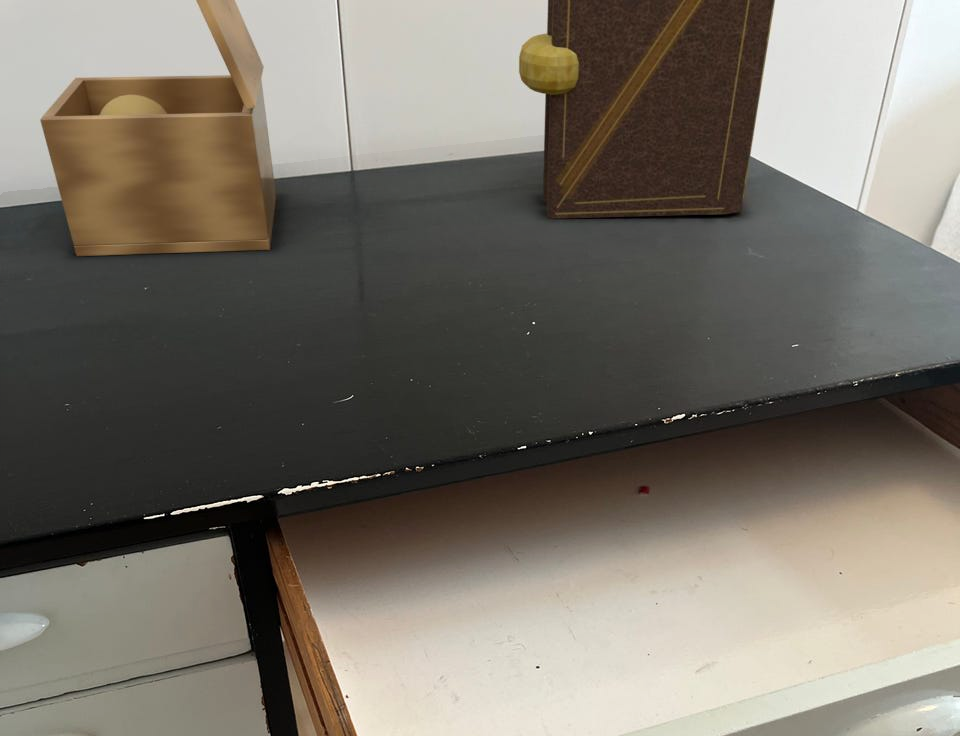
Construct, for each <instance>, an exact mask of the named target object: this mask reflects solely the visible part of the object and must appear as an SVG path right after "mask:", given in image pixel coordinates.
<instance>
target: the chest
mask: <svg viewBox="0 0 960 736" xmlns="http://www.w3.org/2000/svg"><path fill="white" fill-rule="evenodd" d="M124 95H139V96H144V97H146V98H149V99H151V100H153V101H155V102H156V103H158V104H159V105H160V106H161V107H162V108H163V109H164V110H165V111H166V113H167V114H147V115H100V113H101V111H102V109H103V108H104V107H105V105H106V104H107V103H108V102H110V101H111V100H113V99H115V98H117V97H119V96H124ZM264 97H265V96H264V89H263V81H262V79H261V82H260V87H259V91H258V96H257V100H256V105H255V107H253V108H251V109H249V110H246V108H245V106H244V103H243V101H242V99H241V97H240V95H239V92H238V90H237V88H236V86H235V84H234V82H233V79H232V77H231V75H230V74H223V75H222V74H219V75H216V74H215V75H163V76H162V75H161V76H159V75H158V76H108V77H107V76H104V77H100V76H99V77H97V76H96V77H94V76H93V77H75V78H74V79H73V80H72V81H71V82H70V83H69V85H68V86H67V87H66V88H65V89H64V90H63V92H62V93H61V94H60V95H59V97H57V98H56V100H55V101H54V102H53V103H52V104H51V106H50V107H49V108H48V109H47V110H46V112H45V113H44V114H43V115H42V116H41V118H40V124H41V128H42V132H43V136H44V139H45V144H46V147H47V152H48V155H49V158H50V162H51V165H52V170H53V174H54V176H55V181H56V185H57V188H58V191H59V195H60V199H61V204H62V207H63V210H64V215H65V218H66V222H67V225H68V230H69V233H70V236H71V240H72V244H73V248H74V253H75V256H76V257H93V256H94V257H96V256H99V257H100V256H128V255H129V256H130V255H152V254H184V253H188V254H189V253H214V252H215V253H217V252H244V251H246V252H247V251H270V250H271V245H272V238H273V237H272V235H273V226H274V219H275V211H276V201H277V192H276V191H277V190H276V184H275V183H276V182H275V176H274V169H273V168H274V167H273V159H272V153H271V145H270V137H269V128H268V120H267V112H266V105H265V98H264Z"/></svg>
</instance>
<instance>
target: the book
mask: <svg viewBox="0 0 960 736" xmlns="http://www.w3.org/2000/svg"><path fill="white" fill-rule="evenodd" d="M775 3H776V0H547V18H546V19H547V20H546V23H547V24H546V26H547V27H546V33H541V34H537V35H534V36H531V37H530V38H529V39H528V40H526V41H525V42H524V43H523V44H522V45H521V47H520V48H521V49H520V51H519V56H518V60H519V61H518V74H519V77H520V81H522V83H523V84H524V85H525V86H526V87H527V88H528V89H530V90H531V91H533V92H536V93H540V94H544V95H545V96H544V97H545V101H544V103H545V104H544V107H545V108H544V133H543V134H544V136H543V137H544V138H543V171H542V172H543V173H542V176H543V177H542V201H543V203H545V204H546V213H545V215H546V216H547V218H548V219H552V220H555V219H585V218H587V219H590V218H623V217H624V218H625V217H629V218H630V217H661V216H662V217H664V216H692V215H693V216H696V215H697V216H699V215H701V216H702V215H728V214H735V213H739V212H741V210H742V208H743V203H744V199H745V198H744V197H745V192H746V186H747V179H748V172H749V167H750V160H751V153H752V148H753V142H754V135H755V129H756V123H757V117H758V109H759V104H760V97H761V92H762V91H761V90H762V84H763V79H764V72H765V65H766V60H767V53H768V48H769V46H768V45H769V40H770V34H771V28H772V22H773V15H774V9H775V5H776V4H775Z"/></svg>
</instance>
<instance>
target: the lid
mask: <svg viewBox="0 0 960 736" xmlns="http://www.w3.org/2000/svg"><path fill="white" fill-rule="evenodd" d="M195 1H196V3H197V5H198V8H199V10H200V12H201V14H202V17H203V19H204V20H205V23H206V25H207V27H208V29H209V32H210V34H211V36H212V39H213V40H214V42H215V44H216V47H217V50H218V51H219V54H220V55H221V58H222V60H223V63H224V64H225V66H226V68H227V70H228V73H229V75H231V77H232V79H233V82H234V84H235V86H236V88H237V90H238V92H239V95H240V97H241V99H242V101H243V103H244V106H245V108H246V110H249V109H251V108H253V107H255V105H256V100H257V96H258V91H259V87H260V82H261V80H262V77H263V72H264V64H263V62H262V59H261V57H260V55H259V52H258V49H257V48H256V45H255V44H254V41H253V39H252V36H251V34H250V32H249V30H248V27H247V25H246V22H245V21H244V18H243V15H242V14H241V11H240V9H239V7H238V4H237V2H236V0H195Z"/></svg>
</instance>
